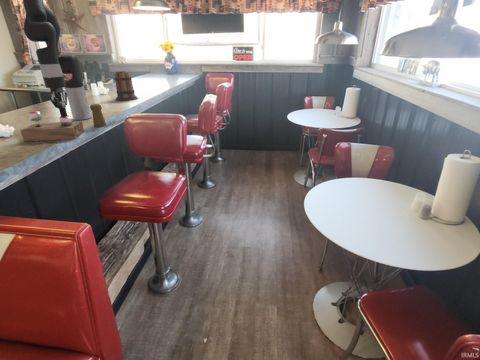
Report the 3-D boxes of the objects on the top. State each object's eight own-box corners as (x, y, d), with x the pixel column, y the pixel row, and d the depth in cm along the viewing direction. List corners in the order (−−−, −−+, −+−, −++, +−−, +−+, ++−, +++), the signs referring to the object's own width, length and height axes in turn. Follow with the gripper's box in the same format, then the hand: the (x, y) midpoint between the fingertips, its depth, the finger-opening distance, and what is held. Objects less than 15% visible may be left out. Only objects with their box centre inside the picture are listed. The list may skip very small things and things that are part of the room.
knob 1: (35, 125, 129) (30, 111, 126) (46, 125, 129) (41, 110, 126) (30, 128, 125) (25, 113, 122) (41, 127, 125) (36, 112, 122)
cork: (101, 127, 143) (96, 105, 138) (91, 127, 144) (85, 105, 139) (108, 124, 148) (104, 103, 144) (98, 124, 149) (93, 102, 145)
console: (37, 133, 134) (34, 123, 132) (84, 131, 137) (81, 121, 135) (24, 141, 123) (20, 130, 121) (75, 138, 126) (72, 127, 124)
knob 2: (65, 129, 131) (61, 115, 129) (75, 129, 132) (71, 115, 129) (61, 132, 128) (57, 117, 125) (72, 131, 128) (67, 117, 125)
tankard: (135, 100, 212) (130, 72, 203) (112, 101, 210) (106, 73, 202) (142, 95, 233) (137, 69, 224) (121, 96, 232) (116, 70, 223)
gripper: (50, 74, 125) (61, 113, 132) (35, 77, 113) (48, 120, 120) (68, 74, 126) (78, 113, 133) (55, 76, 114) (67, 119, 121)
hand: (64, 116), depth 127 cm, fingers closed
